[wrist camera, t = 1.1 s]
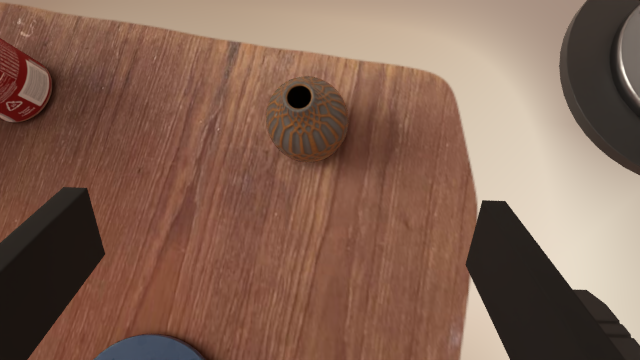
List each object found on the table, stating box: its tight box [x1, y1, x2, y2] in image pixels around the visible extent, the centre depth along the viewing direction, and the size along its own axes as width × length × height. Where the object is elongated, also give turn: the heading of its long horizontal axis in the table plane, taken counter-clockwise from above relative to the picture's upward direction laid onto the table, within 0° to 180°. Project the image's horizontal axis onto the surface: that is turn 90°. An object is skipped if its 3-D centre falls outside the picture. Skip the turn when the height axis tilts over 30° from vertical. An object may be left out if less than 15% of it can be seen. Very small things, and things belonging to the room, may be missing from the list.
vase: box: [266, 77, 348, 162], centre depth 34 cm, size 7×7×9 cm
